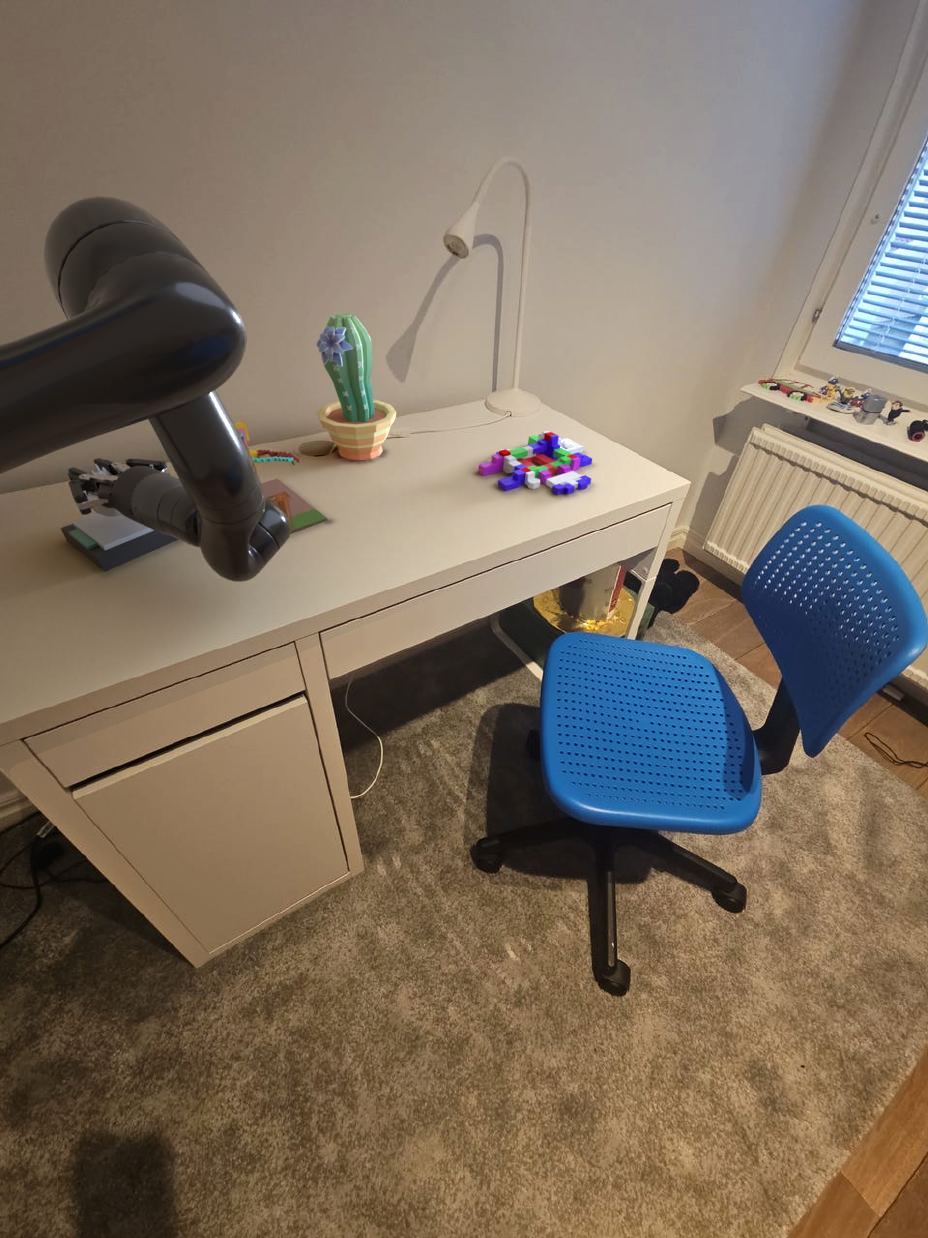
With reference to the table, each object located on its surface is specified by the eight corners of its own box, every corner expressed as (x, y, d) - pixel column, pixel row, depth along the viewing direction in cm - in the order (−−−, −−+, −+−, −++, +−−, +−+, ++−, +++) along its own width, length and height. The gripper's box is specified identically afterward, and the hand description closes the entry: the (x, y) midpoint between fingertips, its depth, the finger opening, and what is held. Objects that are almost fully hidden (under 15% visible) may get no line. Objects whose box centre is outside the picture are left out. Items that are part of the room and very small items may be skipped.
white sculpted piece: (102, 526, 77) (78, 474, 72) (88, 510, 81) (64, 459, 76) (142, 514, 80) (121, 463, 75) (127, 499, 84) (106, 449, 79)
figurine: (277, 480, 100) (261, 401, 91) (327, 520, 90) (314, 435, 80) (201, 503, 93) (175, 419, 83) (246, 549, 83) (221, 459, 73)
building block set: (529, 507, 96) (532, 483, 93) (464, 463, 108) (465, 441, 105) (626, 474, 107) (631, 452, 104) (557, 438, 119) (560, 418, 116)
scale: (104, 571, 77) (95, 553, 75) (67, 541, 83) (57, 523, 81) (182, 537, 85) (176, 520, 83) (143, 512, 90) (136, 494, 88)
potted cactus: (309, 446, 112) (287, 310, 96) (375, 430, 119) (364, 302, 103) (344, 474, 103) (326, 329, 87) (412, 455, 110) (407, 318, 94)
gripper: (197, 456, 73) (121, 428, 80) (97, 497, 64) (20, 462, 71) (213, 505, 78) (139, 475, 85) (122, 550, 69) (48, 513, 76)
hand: (85, 469), depth 78 cm, fingers closed on white sculpted piece, 3 cm apart
